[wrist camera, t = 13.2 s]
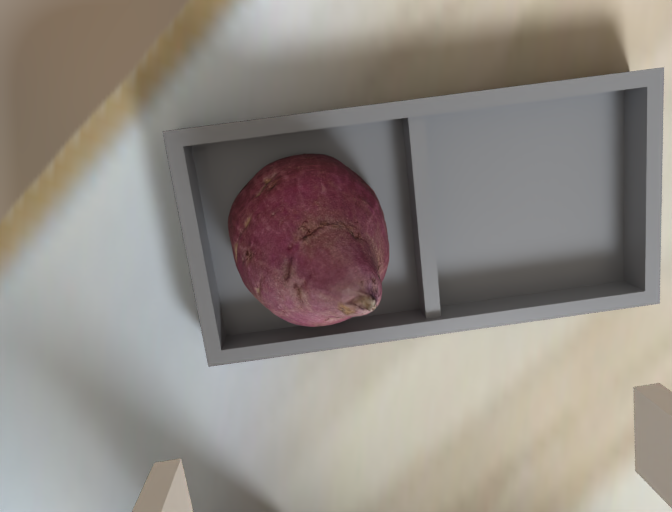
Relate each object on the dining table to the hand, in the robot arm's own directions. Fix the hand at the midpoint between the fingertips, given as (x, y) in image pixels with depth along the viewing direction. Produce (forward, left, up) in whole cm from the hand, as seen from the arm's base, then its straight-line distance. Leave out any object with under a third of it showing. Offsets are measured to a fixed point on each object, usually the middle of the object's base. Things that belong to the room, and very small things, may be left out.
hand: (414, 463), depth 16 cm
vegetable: (+3, +2, -23) cm, 23 cm away
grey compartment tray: (+3, -5, -23) cm, 24 cm away
